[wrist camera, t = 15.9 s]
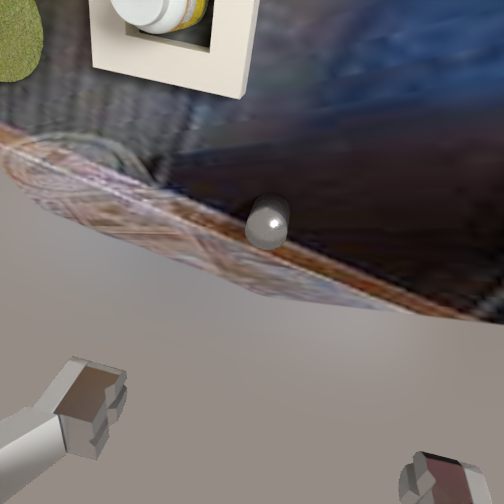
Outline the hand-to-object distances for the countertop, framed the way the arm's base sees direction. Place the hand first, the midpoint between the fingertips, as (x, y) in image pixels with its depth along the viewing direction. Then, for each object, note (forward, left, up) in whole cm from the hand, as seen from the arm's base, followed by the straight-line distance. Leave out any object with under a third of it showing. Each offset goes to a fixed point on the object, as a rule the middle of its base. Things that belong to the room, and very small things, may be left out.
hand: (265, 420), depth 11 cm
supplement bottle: (+14, -8, -33) cm, 37 cm away
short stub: (+2, +11, -33) cm, 35 cm away
